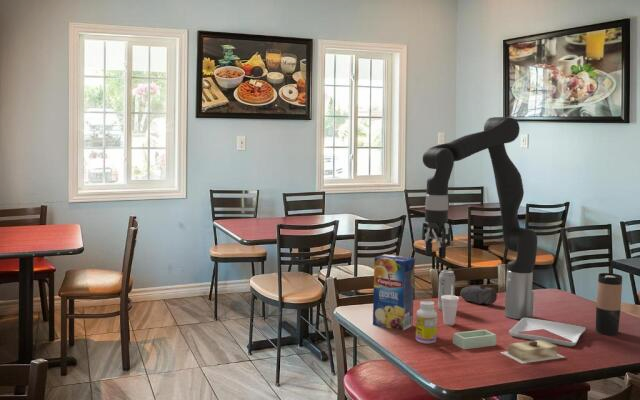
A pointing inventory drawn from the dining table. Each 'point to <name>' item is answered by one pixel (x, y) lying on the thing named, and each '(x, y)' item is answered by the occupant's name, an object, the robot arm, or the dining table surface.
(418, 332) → the supplement bottle
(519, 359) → the mat
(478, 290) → the perforated stone tool
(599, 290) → the travel mug
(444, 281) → the energy drink can
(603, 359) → the dining table surface
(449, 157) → the robot arm
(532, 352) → the lid
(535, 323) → the salad plate
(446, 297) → the smoothie
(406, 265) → the juice carton
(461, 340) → the dish
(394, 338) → the dining table surface
